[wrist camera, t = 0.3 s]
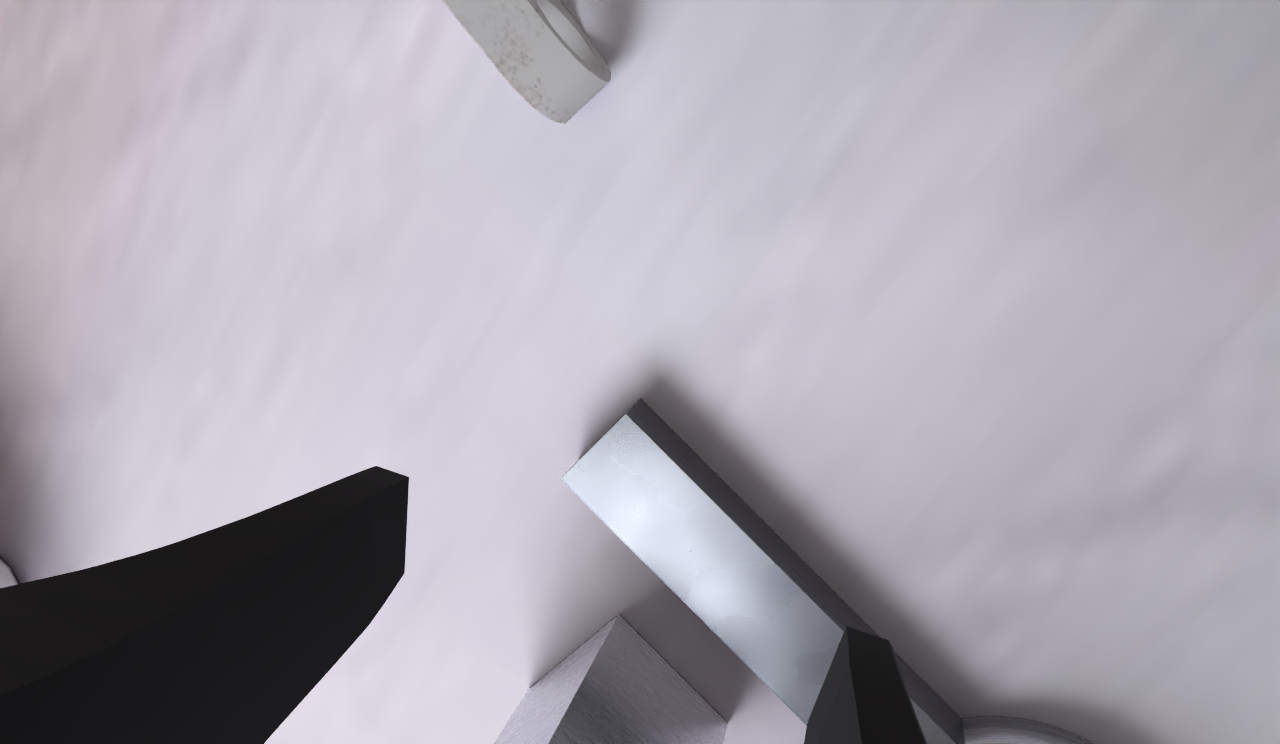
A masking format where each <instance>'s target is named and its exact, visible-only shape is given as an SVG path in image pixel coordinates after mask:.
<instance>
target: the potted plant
mask: <svg viewBox="0 0 1280 744" xmlns="http://www.w3.org/2000/svg"><path fill="white" fill-rule="evenodd" d="M17 584H18V583H17V581H16V579H15V577H14V575H13V573H12V571H11V569H10V568H9V567H8V566H7V565H6V564H5V563H4V562H3V561H2V560H1V559H0V588H4V587H8V586H13V585H17Z"/></svg>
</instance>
